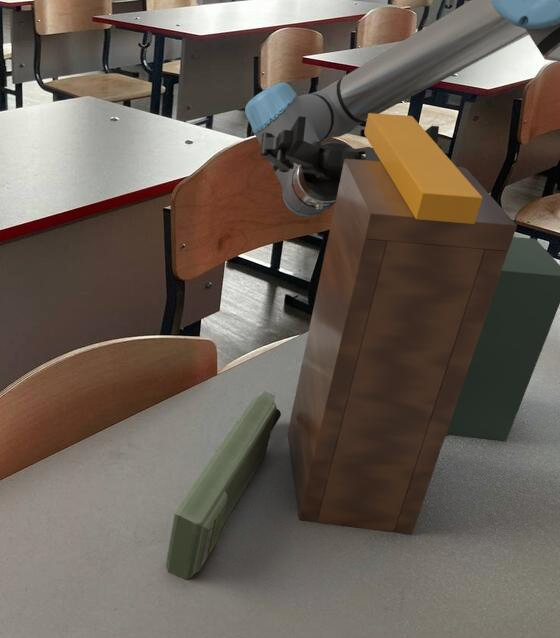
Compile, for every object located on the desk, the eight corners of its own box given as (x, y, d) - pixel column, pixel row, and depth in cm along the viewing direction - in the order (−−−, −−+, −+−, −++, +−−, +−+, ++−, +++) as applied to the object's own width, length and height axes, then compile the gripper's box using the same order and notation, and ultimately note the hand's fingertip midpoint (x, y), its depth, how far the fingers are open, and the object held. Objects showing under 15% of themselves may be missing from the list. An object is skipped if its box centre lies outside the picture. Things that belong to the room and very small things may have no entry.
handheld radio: (158, 567, 64) (257, 416, 83) (194, 585, 63) (287, 427, 82) (168, 510, 61) (269, 366, 79) (206, 527, 59) (300, 376, 78)
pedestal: (480, 392, 88) (535, 238, 78) (506, 441, 80) (570, 276, 71) (391, 383, 89) (435, 230, 80) (408, 430, 82) (458, 266, 72)
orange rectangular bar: (407, 136, 72) (412, 115, 71) (474, 224, 53) (483, 197, 52) (363, 133, 73) (368, 112, 72) (415, 219, 54) (422, 192, 53)
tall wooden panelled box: (384, 444, 79) (465, 167, 64) (412, 534, 68) (517, 225, 53) (287, 432, 81) (344, 158, 66) (299, 519, 69) (370, 213, 55)
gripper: (420, 210, 100) (487, 179, 79) (229, 194, 103) (243, 159, 82) (426, 153, 100) (494, 106, 79) (234, 139, 103) (250, 90, 82)
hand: (366, 133), depth 80 cm, fingers open, 13 cm apart
